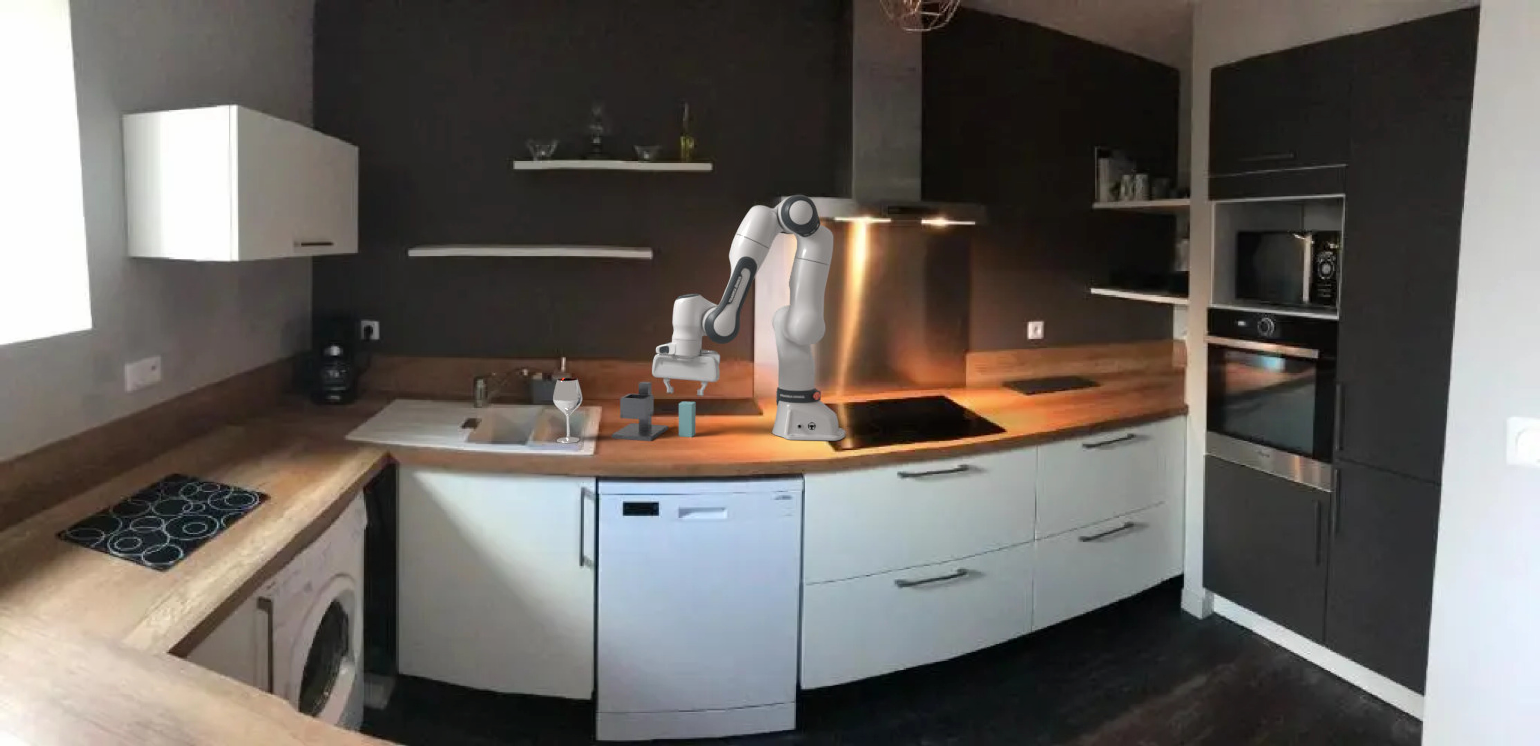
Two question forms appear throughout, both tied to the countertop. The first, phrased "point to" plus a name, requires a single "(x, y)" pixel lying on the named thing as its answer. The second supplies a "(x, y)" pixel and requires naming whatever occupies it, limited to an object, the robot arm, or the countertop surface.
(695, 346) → the robot arm
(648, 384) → the stand
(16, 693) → the countertop surface
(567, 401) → the wineglass
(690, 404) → the teal rectangular block
